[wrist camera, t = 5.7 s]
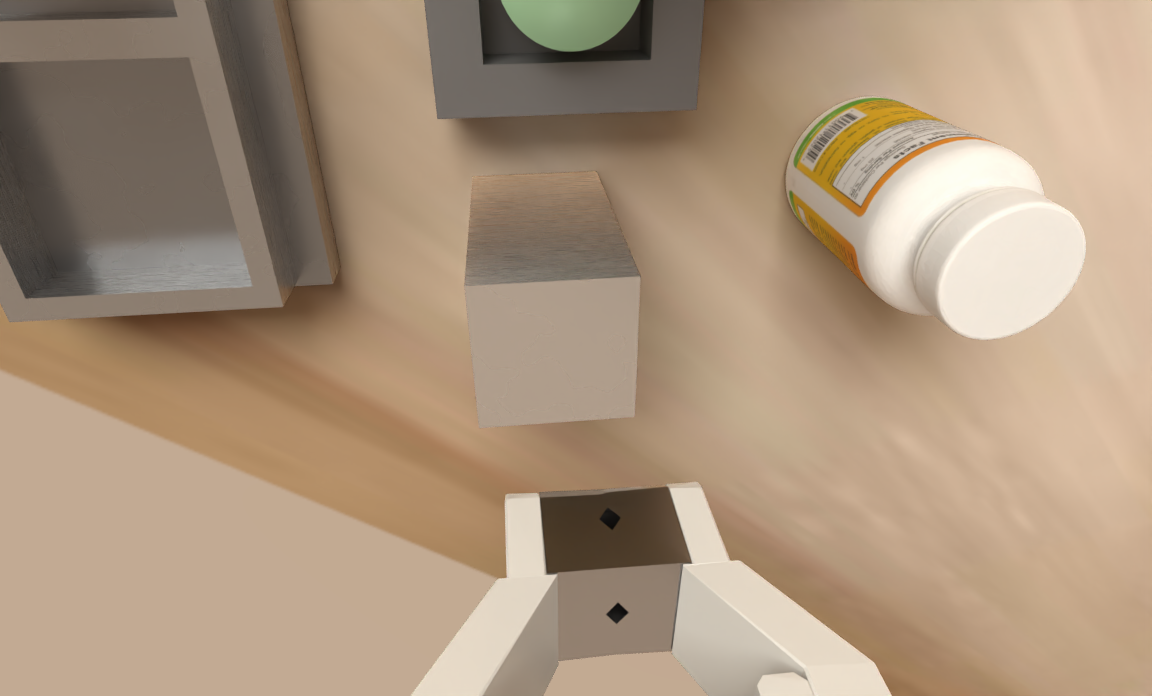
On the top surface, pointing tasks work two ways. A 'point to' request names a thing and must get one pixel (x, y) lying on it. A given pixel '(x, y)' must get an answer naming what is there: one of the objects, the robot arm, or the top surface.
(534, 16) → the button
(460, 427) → the top surface
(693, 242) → the top surface
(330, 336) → the top surface
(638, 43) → the grey square frame
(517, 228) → the billet
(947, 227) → the supplement bottle
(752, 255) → the top surface
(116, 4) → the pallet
